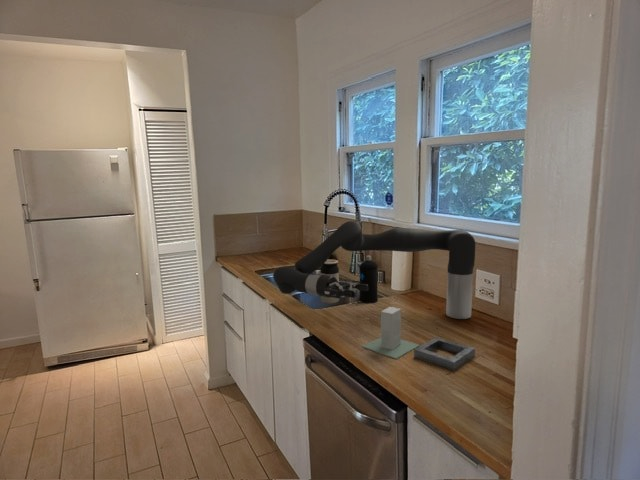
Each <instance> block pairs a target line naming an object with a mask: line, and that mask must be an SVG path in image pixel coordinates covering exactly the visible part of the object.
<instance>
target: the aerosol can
mask: <svg viewBox="0 0 640 480" xmlns="http://www.w3.org/2000/svg"><path fill="white" fill-rule="evenodd" d="M365 258H366V259H365V260H364V261H362V262H361V263H360V264H359V265H358V266H359V281H360V284H367V285H368V291H361V290H359V300H358V301H359V302H361V303H364V304H375V303H378V300H379V298H378V277H379V273H378V267H379V265H378V264H377V262H375V261H373V260H372V256H371V255H366V257H365Z"/></svg>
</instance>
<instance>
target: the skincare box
mask: <svg viewBox="0 0 640 480" xmlns="http://www.w3.org/2000/svg"><path fill="white" fill-rule="evenodd" d="M401 328H402V309H401V308H399V307H393V306H388V307H387V308H385V309H383V310H381V311H380V337H381V347H382V348H386V349H390V350H393V349H394V348H396V347H397V346H398V345H400V344H401V339H402V329H401Z"/></svg>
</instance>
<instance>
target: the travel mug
mask: <svg viewBox="0 0 640 480" xmlns="http://www.w3.org/2000/svg"><path fill="white" fill-rule="evenodd" d="M338 263H339V260H338V259H337V260H336V259H327V261H326V262H325V263H324V264H323V265H322V266H321V267H320V268H319V269H320V275H328V276H334V277H335V278H336V279H337V281H338V282H339V281H340V269H339V266H338ZM320 301H321V302H322V303H324V304H331V305H333V304H337V303H338V302H339V301H340V298H333V297H331V298H329V297H323V296H320Z"/></svg>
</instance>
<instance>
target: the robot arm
mask: <svg viewBox="0 0 640 480" xmlns="http://www.w3.org/2000/svg"><path fill="white" fill-rule="evenodd" d="M340 247H341V248H342V249H343V250H345V251H348V252H361V251H362V252H363V251H365V252H366V251H382V252H383V251H389V252H404V253H407V252H408V253H415V252H424V251H430V250H439V251H440V250H441V251H447V252H448V251H449V252H448V264H447V278H446V304H445V305H446V306H445V307H446V308H445V309H446V310H445V314H446V316H447V317H449V318H451V319H457V320H467V319H470V318H472V303H473V281H474V278H473V277H474V267H475V261H476V240H475V238H474V236H473V235H472V234H470V233H469V232H468V231H466V230H463V229H451V230H431V229H420V228H412V227H394V228H391V229H388V230H385V231H383V232H380V233H376V234H375V233H374V234H368V233H367V234H365V233H363V230H362V226H361V225H360V224H359V223H358V222H357V221H351V220H350V221H346V222H344V223H343V224H341V225H340V226H339V227H338V228H337V229H335V230H334V232H332V234H330V235H329V236H328V237H327V238H325V240H323V241H322V242H321V243H320V244H319V245H318V246H317V247H315V248H314V249H313V250H311V251H310V252H308V253H307V254H305V255H304V256H302V257H300V258H299V259H297V261H295V262H294V268H293V267H289V266H280V267H277V268H276V269H275V270H274V271H273V274H272V277H273V280H274V283H275V284H276V286H277V288H278V289H279V291H280V293H282V294H283V295H288V294H291V293H293V292H295V291H297V292H299V293H302V294H309V295H314V296H317V297H321V296H323V297H329V298H331V297H333V298H339V299H341V298H352V299H355V298H356V297H357V294H356V293H357V292H356V291H360V290H361V291H368V285H367V284H360V280H353V279H344V280H339V282H338V281H337V279H336V278H335V277H334V276H328V275H321V273H319V274H318V273H314V272H316V271H317V270H319V269H321V267H322V265H323V264H324V263H325V262H326V261H327V260H329V258H330V257H331V256H332V255H333V254H334V252H335V251H337V250H338V249H339V248H340Z"/></svg>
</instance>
